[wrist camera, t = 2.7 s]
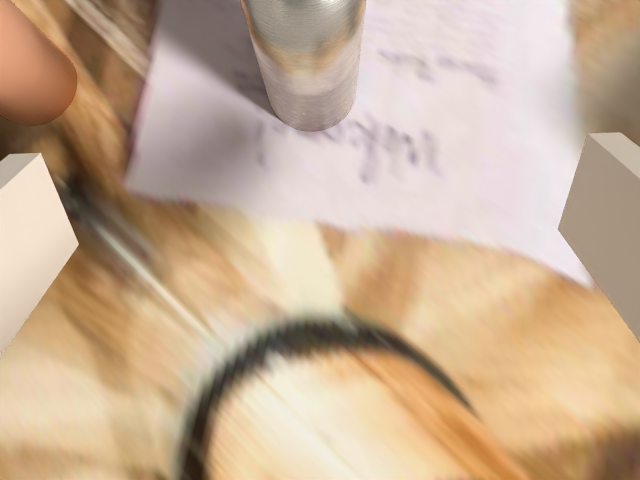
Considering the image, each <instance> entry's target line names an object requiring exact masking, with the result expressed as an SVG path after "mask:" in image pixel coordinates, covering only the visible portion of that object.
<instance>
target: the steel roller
mask: <svg viewBox="0 0 640 480" xmlns="http://www.w3.org/2000/svg"><path fill="white" fill-rule="evenodd" d="M240 3H241V6H242V9H243V13H244V16H245V20H246V23H247V26H248V30H249V33H250V37H251V40H252V44H253V47H254V50H255V54H256V57H257V61H258V64H259V68H260V71H261V74H262V78H263V81H264V85H265V88H266V92H267V95H268V98H269V102H270V104H271V107H272V109H273V111H274V112H275V114H276V115H277V116H278V117H279V118H280V119H281V120H282V121H283V122H284V123H285V124H287V125H289V126H290V127H293V128H295V129H298V130H302V131H321V130H325V129H328V128H330V127H332V126H334V125H336V124H337V123H339V122H340V121H341V120H342V119H344V118H345V116H346V115H347V114H348V113H349V111H350V110H351V108H352V106H353V103H354V100H355V95H356V87H357V78H358V69H359V60H360V51H361V42H362V33H363V24H364V14H365V5H366V0H240Z"/></svg>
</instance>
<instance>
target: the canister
mask: <svg viewBox="0 0 640 480" xmlns="http://www.w3.org/2000/svg"><path fill="white" fill-rule="evenodd" d="M76 89H77V74H76V70H75V67H74V65H73V63H72V62H71V60H70V59H69V58H68V57H67V55H66V54H65V53H64V52H63V51H61V50H60V49H59V48H58V47H57V46H56V45H55V44H54V43H53V42H52V41H51V40H50V39H49V38H48V37H47V36H46V35H45V34H44V33H43V32H42V31H41V30H40V29H39V28H38V27H37V26H36V25H35V24H34V23H33V22H32V21H31V20H30V19H29V18H28V17H27V16H26V15H25V14H24V13H23V12H22V11H21V10H20V9H19V8H18V7H17V6H16V5H15V4H13V3H12V2H11V1H10V0H0V115H1V116H2V117H4V118H6V119H7V120H9V121H11V122H13V123H15V124H19V125H24V126H36V125H41V124H44V123H47V122H50V121H52V120H54V119H55V118H57V117H58V116H59V115H61V114H62V113H63V112H64V111H65V110H66V109H67V108H68V106H69V105H70V103H71V102H72V100H73V98H74V95H75V92H76Z"/></svg>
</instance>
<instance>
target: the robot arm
mask: <svg viewBox="0 0 640 480" xmlns="http://www.w3.org/2000/svg"><path fill="white" fill-rule="evenodd" d="M558 230H559V232H560V233H561V235H562V236H563V237H564V239H565V240H566V241H567V243H568V244H569V246H570V247H571V248H572V250H573V251H574V253H575V254H576V255H577V257H578V258H579V259H580V261H581V262H582V264H583V265H584V266H585V268H586V269H587V271H588V272H589V273H590V275H591V276H592V277H593V279H594V280H595V282H596V283H597V284H598V286H599V287H600V288H601V290H602V291H603V293H604V294H605V295H606V297H607V298H608V300H609V301H610V302H611V304H612V305H613V306H614V308H615V309H616V311H617V312H618V313H619V315H620V316H621V317H622V319H623V320H624V322H625V323H626V324H627V326H628V327H629V329H630V330H631V331H632V333H633V334H634V335H635V337H636V338H637V340H638V341H639V342H640V147H639V146H637V145H636V144H635V143H634V142H632V141H631V140H630V139H628V138H627V137H626V136H625V135H623V134H622V133H621V132H615V133H588V134H587V137H586V140H585V144H584V147H583V150H582V153H581V156H580V160H579V163H578V166H577V169H576V172H575V176H574V179H573V182H572V185H571V188H570V192H569V195H568V198H567V201H566V204H565V208H564V211H563V214H562V217H561V220H560V224H559V227H558ZM78 245H79V244H78V241H77V239H76V236H75V234H74V232H73V229H72V227H71V224H70V222H69V220H68V217H67V215H66V212H65V210H64V208H63V205H62V203H61V200H60V198H59V196H58V193H57V191H56V189H55V186H54V184H53V181H52V179H51V177H50V174H49V172H48V169H47V167H46V165H45V162H44V160H43V157H42V155H41V153H26V154H9V155H8V156H7V157H5V158H4V159H3V160H2V161H1V162H0V357H1V356H2V354H3V353H4V351H5V350H6V348H7V347H8V346H9V344H10V343H11V341H12V340H13V338H14V337H15V336H16V334H17V333H18V331H19V330H20V328H21V327H22V325H23V324H24V323H25V321H26V320H27V318H28V317H29V315H30V314H31V313H32V311H33V310H34V308H35V307H36V305H37V304H38V302H39V301H40V300H41V298H42V297H43V295H44V294H45V292H46V291H47V290H48V288H49V287H50V285H51V284H52V282H53V281H54V279H55V278H56V277H57V275H58V274H59V272H60V271H61V269H62V268H63V267H64V265H65V264H66V262H67V261H68V259H69V258H70V257H71V255H72V254H73V252H74V251H75V249H76V248H77V246H78Z"/></svg>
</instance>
